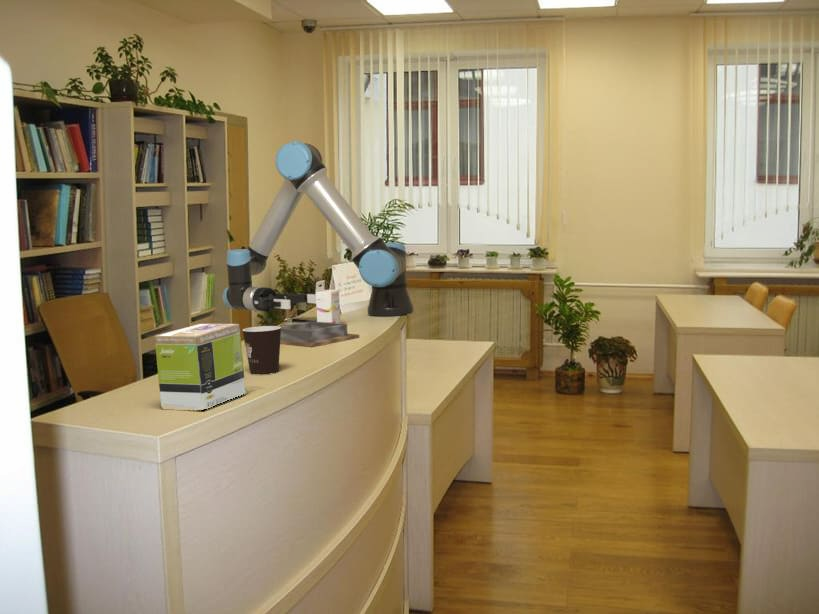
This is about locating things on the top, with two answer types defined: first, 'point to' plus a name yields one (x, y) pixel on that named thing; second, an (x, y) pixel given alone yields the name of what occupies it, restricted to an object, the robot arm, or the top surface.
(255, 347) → the coffee mug
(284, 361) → the top surface
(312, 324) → the cartridge holder
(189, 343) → the tea box
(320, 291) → the ink cartridge box
